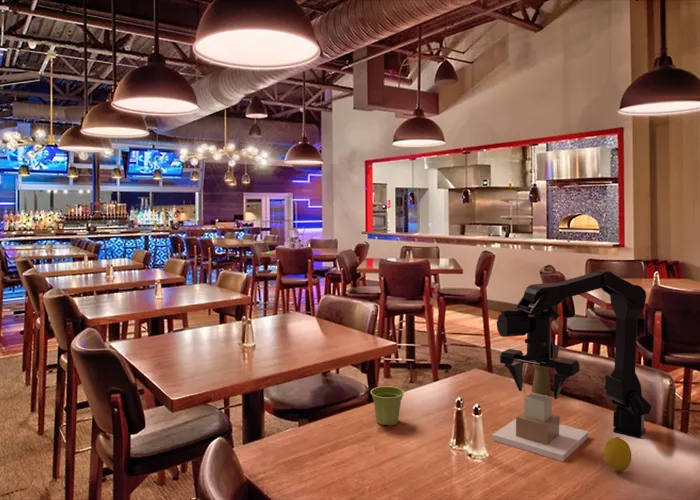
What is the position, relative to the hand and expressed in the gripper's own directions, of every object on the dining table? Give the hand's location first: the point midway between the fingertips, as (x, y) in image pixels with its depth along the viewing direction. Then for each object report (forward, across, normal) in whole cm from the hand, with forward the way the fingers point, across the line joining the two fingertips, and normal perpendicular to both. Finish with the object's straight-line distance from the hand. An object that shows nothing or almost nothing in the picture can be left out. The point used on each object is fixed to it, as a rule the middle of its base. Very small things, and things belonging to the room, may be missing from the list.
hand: (537, 394), depth 136 cm
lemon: (+12, -20, +5) cm, 24 cm away
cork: (+12, +13, -36) cm, 41 cm away
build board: (+12, 0, -1) cm, 12 cm away
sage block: (+5, 0, +1) cm, 5 cm away
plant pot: (+12, +37, +16) cm, 42 cm away
